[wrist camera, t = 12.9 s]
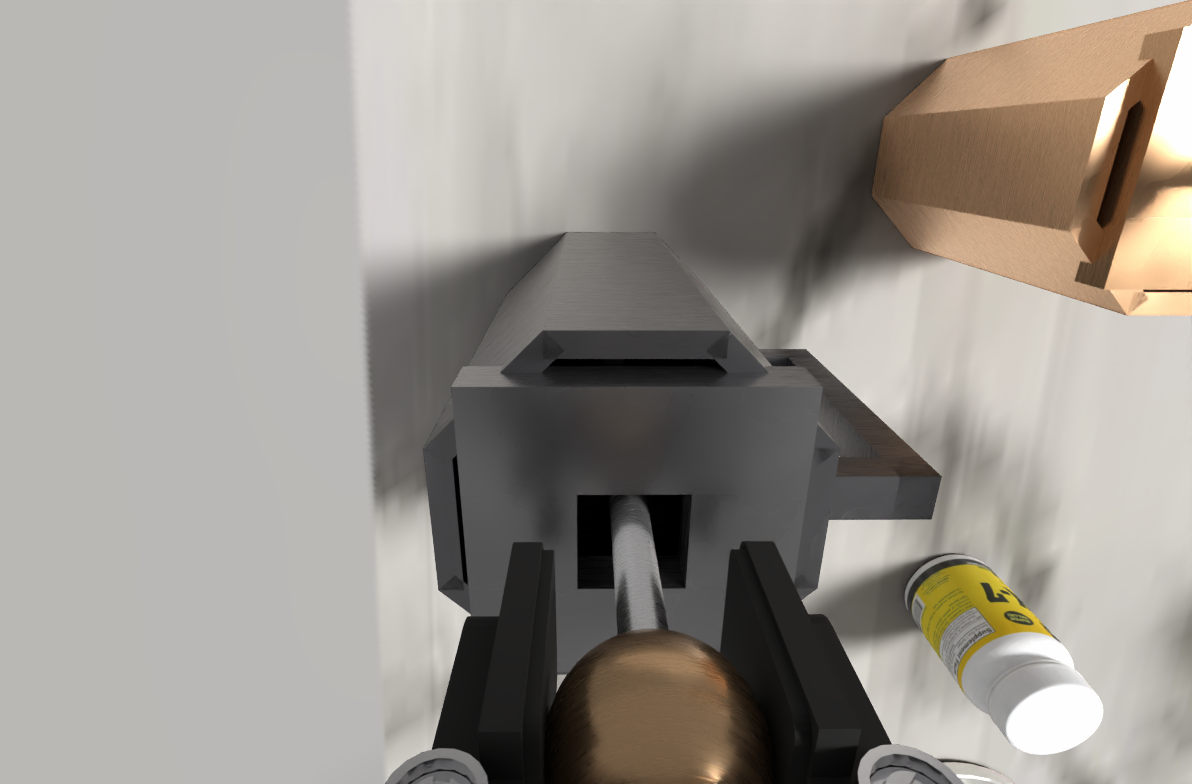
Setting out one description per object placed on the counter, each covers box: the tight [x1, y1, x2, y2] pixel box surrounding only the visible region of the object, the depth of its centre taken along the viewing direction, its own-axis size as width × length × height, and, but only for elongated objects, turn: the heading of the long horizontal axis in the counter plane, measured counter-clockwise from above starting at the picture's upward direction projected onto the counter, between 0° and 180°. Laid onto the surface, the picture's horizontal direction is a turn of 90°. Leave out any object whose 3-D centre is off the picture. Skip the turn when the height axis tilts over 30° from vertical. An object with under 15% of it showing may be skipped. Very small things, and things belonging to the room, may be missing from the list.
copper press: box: [871, 0, 1192, 315], centre depth 20 cm, size 10×7×12 cm
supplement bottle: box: [905, 554, 1103, 755], centre depth 30 cm, size 5×5×8 cm
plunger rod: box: [545, 359, 774, 784], centre depth 17 cm, size 3×3×21 cm
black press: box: [423, 232, 942, 675], centre depth 21 cm, size 12×9×16 cm
